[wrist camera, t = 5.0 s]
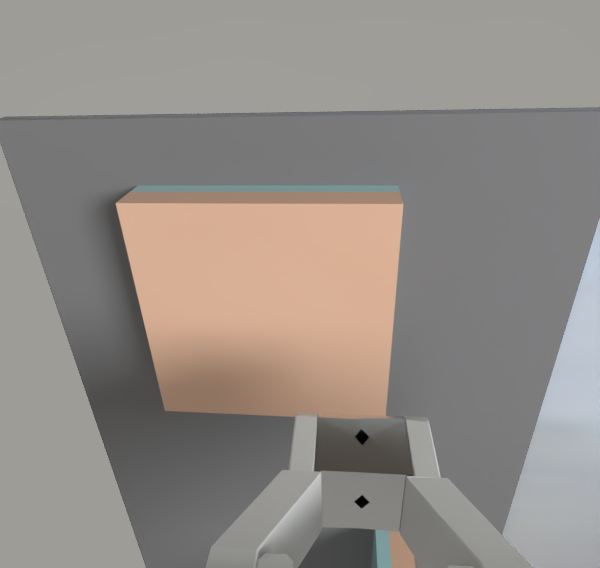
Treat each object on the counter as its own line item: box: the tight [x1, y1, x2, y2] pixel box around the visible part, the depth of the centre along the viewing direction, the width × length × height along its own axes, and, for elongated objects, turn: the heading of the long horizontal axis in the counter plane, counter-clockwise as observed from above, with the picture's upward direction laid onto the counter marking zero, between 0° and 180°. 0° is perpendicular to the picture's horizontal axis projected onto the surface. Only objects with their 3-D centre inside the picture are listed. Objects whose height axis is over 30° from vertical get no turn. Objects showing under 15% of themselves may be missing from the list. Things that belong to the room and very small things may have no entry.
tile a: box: [116, 185, 403, 417], centre depth 15 cm, size 2×8×8 cm
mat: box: [0, 107, 600, 568], centre depth 20 cm, size 18×28×1 cm, turn 2°
